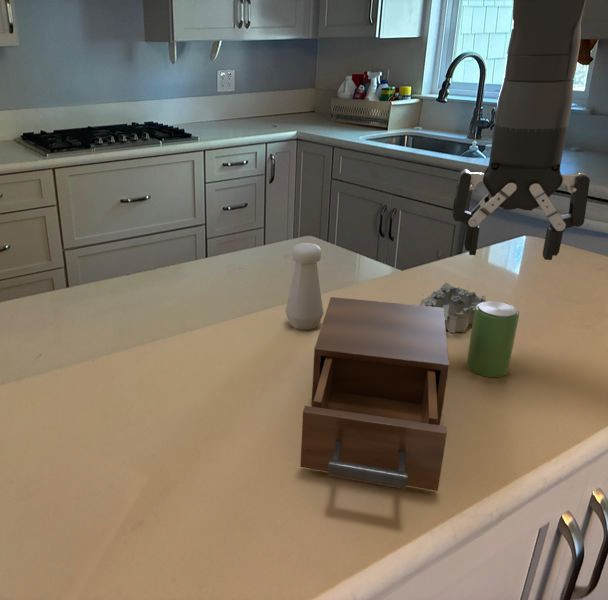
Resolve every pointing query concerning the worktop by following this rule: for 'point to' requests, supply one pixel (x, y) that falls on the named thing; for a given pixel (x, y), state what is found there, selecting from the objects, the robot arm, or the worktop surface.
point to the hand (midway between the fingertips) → (509, 255)
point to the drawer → (375, 424)
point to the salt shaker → (305, 288)
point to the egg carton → (455, 306)
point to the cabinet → (384, 338)
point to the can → (492, 338)
